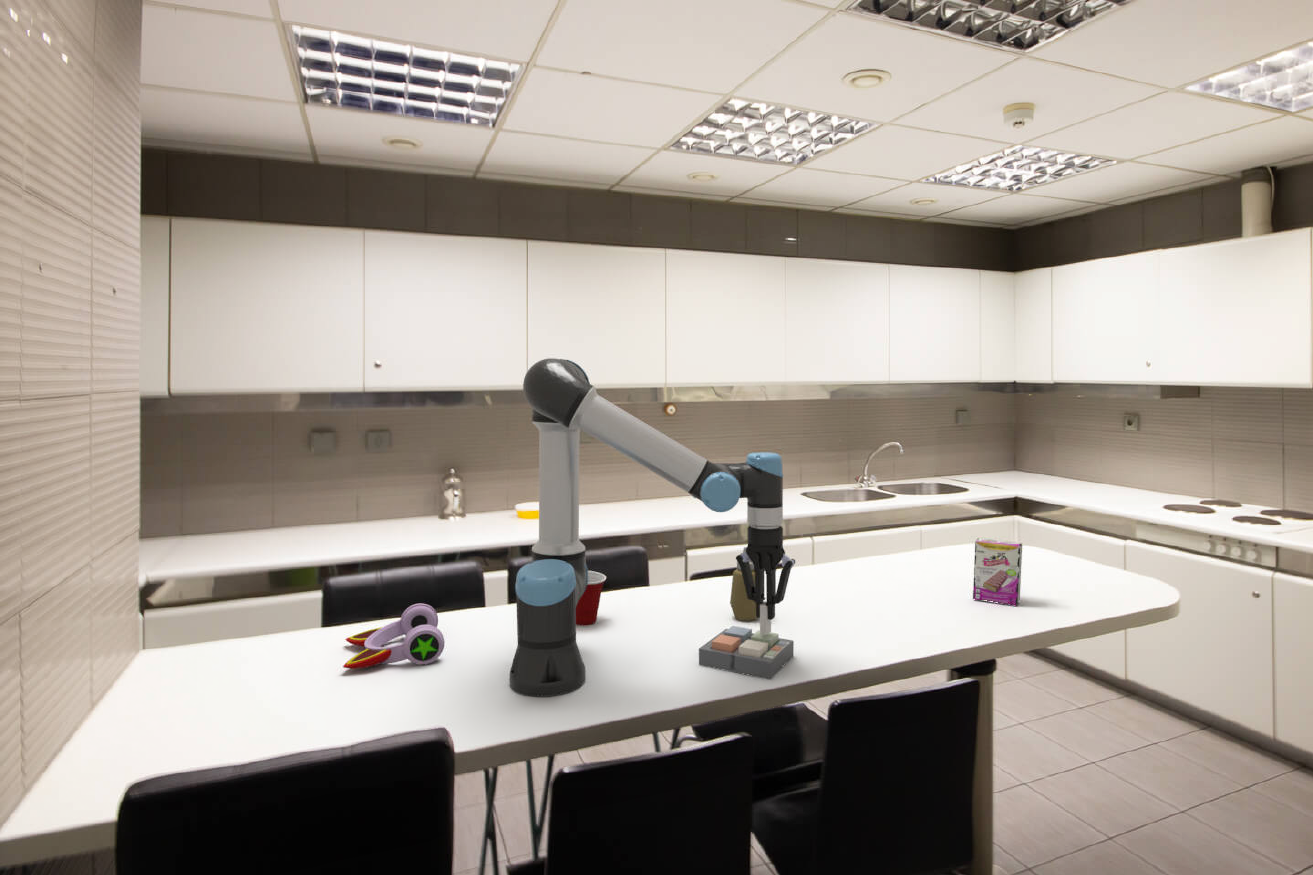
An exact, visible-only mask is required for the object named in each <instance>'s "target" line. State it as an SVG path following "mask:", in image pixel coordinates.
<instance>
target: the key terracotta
mask: <svg viewBox="0 0 1313 875" xmlns="http://www.w3.org/2000/svg"><path fill="white" fill-rule="evenodd" d="M739 646H740V638H737V637H731V636H726V635H720V636H718V637H717V638H716V639H714V640H713V641H712V649H715V650H721V651H726V652H731V653H733V652H734V651H735V650H737V649H738V648H739Z"/></svg>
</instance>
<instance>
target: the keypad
mask: <svg viewBox="0 0 1313 875" xmlns="http://www.w3.org/2000/svg"><path fill="white" fill-rule="evenodd" d="M728 629H729V628H725V629H723V630H722V631H721V632H720V633H718V634H717V635H716V636H714V637H713V638H711V639H710V640H708V641H707V642H705V643H704V644H703V645H702V646H700V647H699V648H698V665H699V666H705V667H708V666H710V667H709V668H713V667H715V668H714V669H717V668H719V669H718V670H722V669H724V670H723V671H727V670H728V671H727V672H732V671H733V672H732V673H737V674H741V673H744V674H743V675H746V674H749V675H748V676H751V675H752V677H756V676H757V678H761V679H765V678H766V680H772V679H773V678H774V676H775V675H777V674H778V672H780V671H781V669H783V667H784V666H785V665H786V664H787V663H788V662H790V661H791V659H793V657H794V649H795V648H794V646H795V644H794V643H795V642H794V640H791V639H787V638H781V637H778V643H777V644H776V645H775V646H773V647H772V648H769V647H768V652H767V653H766V654H765V655H763V656H762V657H761V658H757V657H752V656H746V655H741V654H739V648H738V649H737V650H735V651H734V652H733V653H731V652H726V651H721V650H715V649H712V641H713V640H714V639H716V638H717V637H718V636H720V635H724V632H725V631H726V630H728ZM754 634H755V633H753V632H752V635H754ZM749 640H751V638H750V639H749ZM741 644H742V642H740V645H741ZM786 662H787V663H786ZM785 663H786V664H785ZM784 664H785V665H784ZM783 665H784V666H783ZM782 666H783V667H782Z"/></svg>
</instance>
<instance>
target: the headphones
mask: <svg viewBox="0 0 1313 875" xmlns="http://www.w3.org/2000/svg"><path fill="white" fill-rule="evenodd" d="M438 625H439V618H438V613H437V612H436V609H434V607H433V606H431V605H429V604H426V603H415V604H412V605H410V606H408V607H407V608H406V609H405V610H404V611H403V612H402V614H401V617H400V619H399V620H395V621H394V622H391V623H388V624H386V625H384V626H381V627H376V628H372V629H369V630H366V631H362V632H359V633H356V634H354V635H351V636H349V637H346V638H345V641H346V642H348V643H349V644H351V645H354V646H357V647H362V648H365V649H364V650H362V651H360V652H359V653H357V654H356V655H354V656H353V657H352V658H350V659H349V660H348V661H346V662H345V663H344V664H343V666H342V668H344V669H351V670H352V669H353V670H354V669H364V668H369V667H373V666H376V665H379V663H381V665H387V664H394V663H398V662H402V661H406V660H408V661H409V662H410V663H413V664H415V663H416V665H420V666H421V664H425V665H429V664H431V663H433V662H435V661H437V659H438V658H440V657H441V655H442V653H443V651H444V649H445V638H444V635H443V633H442V631H441V630H440V629H439V628H437V627H438ZM402 636H405V637H404V640H403V642H402V643H398V644H394V645H390V646H383V645H385V644H386V643H388V642H390V641H392V640H394V639H396V638H398V637H402ZM428 663H429V664H428Z"/></svg>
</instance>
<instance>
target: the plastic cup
mask: <svg viewBox="0 0 1313 875" xmlns="http://www.w3.org/2000/svg"><path fill="white" fill-rule="evenodd" d="M606 579H607V576H606V575H605V574H603V573H601V572H597V571H593V570H588V584H587V586H586V589H585V592H584V593H583V595H582V596H581V597H580V599H579V602H578V604H577V606H576V626H584V627H585V626H591V625H594V624H595V623H596V622H597V619H598V611H599V607H600V600H601V595H602V590H603V586H604V584H605V581H606Z"/></svg>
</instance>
